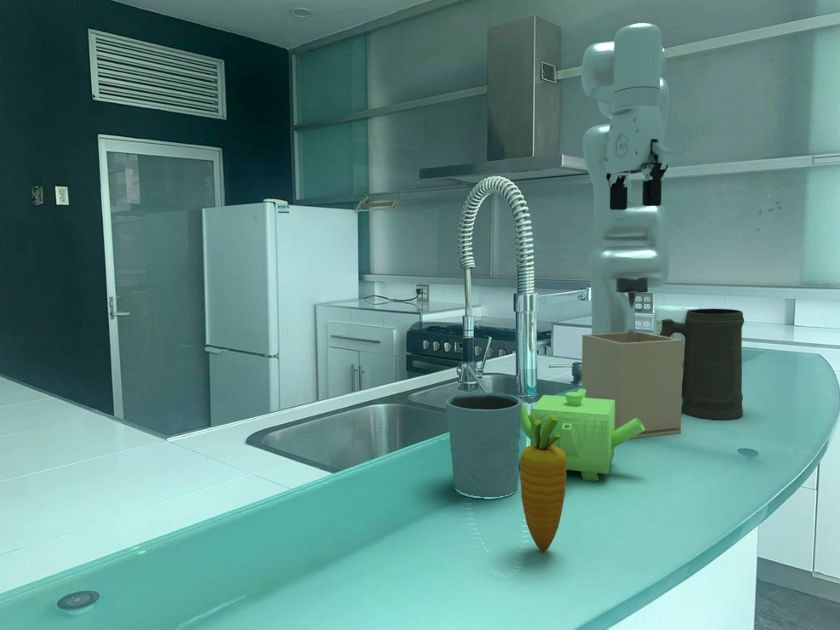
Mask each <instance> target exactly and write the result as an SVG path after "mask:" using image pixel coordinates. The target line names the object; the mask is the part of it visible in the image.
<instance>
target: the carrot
mask: <svg viewBox="0 0 840 630" xmlns="http://www.w3.org/2000/svg"><path fill="white" fill-rule="evenodd" d="M528 415H529V416H528V418H529V421H530V423H531V426H532V429H533V433H534V438H535V442H536V444H535V445H531V444H530V445H528V446H526V447H525V448H523V451H522V453H521V455H520V458H519V473H520V476H519V479H520V493H521V494H520V495H521V501H522V507H523V512H524V513H523V514H524V517H525V518H524V519H525V522H526V525H527V528H528V531H529V534H530V536H531V538H532V540H533V542H534V543H535V545H536V548H537V549H538V550H539V551H540V552H542V551H544V552H546V551H547V550H548V549H549V548H550V546H551V544H552V543H553V541H554V539H555V536H556V534H557V533H558V532H557V531H558V529H559V525H560V521H561V517H562V513H563V508H564V501H565V497H566V484H567V483H566V481H567V470H566V463H567V459H566V454H565V452H564V451H563V450H562V449H560V448H558V447H555V446H553V445H552V444H553V443H554V442H555V441H556V440H558V439H559V438H560V435H558V434H554V435H553V436H552V437H551V438H550V439H549V437H550V434H551V433H552V431H553V429H554V428H555V426H556V424H557V422H558V418H557V417H556V416H554V415H550V417H549V419H548V421H547V423H546V425H545V427H544V429H543V432H542V436H541V439H540V429H541V421H540V420H536V419H535V416H534V415H533V414H531V413H530V414H528Z"/></svg>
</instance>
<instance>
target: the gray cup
mask: <svg viewBox="0 0 840 630" xmlns="http://www.w3.org/2000/svg"><path fill="white" fill-rule="evenodd" d="M522 402H523V400H522V399H521V398H519V397H517V396H515V395H512V394H508V393H501V392H469V393H462V394H456V395H453V396H450V397H449V398H447V399H445V410H446V418H447V426H448V433H449V441H450V442H449V443H450V453H451V463H452V465H451V466H452V480H453V487H454V486H455V488H456V489H457V490H459V491H460V492H462V493H465V494H468V495H473V496H478V497H479V496H480V497H500V496H505V495H509V494H511V493H513V492H515V491H516V492H517V490H518V486H519V473H520V466H519V454H520V445H519V444H520V436H521V428H522V427H521V407H522ZM455 488H454V489H455ZM516 492H515V493H516Z"/></svg>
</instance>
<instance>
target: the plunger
mask: <svg viewBox="0 0 840 630" xmlns="http://www.w3.org/2000/svg"><path fill="white" fill-rule="evenodd" d="M648 290H649V288H648V278H647V277H618V278H616V292H623V293H627V297H628V328H627V343H631V342H634V341H635V332H636V328H635V327H636V325H635V324H636V293H637V294H638V293H648V292H649V291H648Z"/></svg>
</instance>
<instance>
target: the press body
mask: <svg viewBox="0 0 840 630" xmlns="http://www.w3.org/2000/svg"><path fill="white" fill-rule="evenodd" d="M581 336H582V337H581V342H582V343H581V347H582V349H581V364H582V365H581V389H585V390H586V398H595V399H609V400H615V430H617V429H618V428H620V427H622V426H623V425H625V424H627V423H628V422H630V421H631V420H633V419H635V418H638V419H639V421H640V422H641V423H642V425H643V426H644V428H645V431H643V432H641V433H639V434H638V435H636V436H634V437H632V438H630V439H638V438H647V437H656V436H657V437H658V436H664V435H673V434H681V431H682V430H681V429H682V409H681V408H682V402H683V400H682V366H683V340H680V339H675V338H670V337H665V336H660V335H655V334H653V333H649V332H645V331H639V330H638V331H635V341H634V342H631V343H627V332H621V333H605V334H592V333H590V334H582V335H581ZM630 439H629V440H630Z"/></svg>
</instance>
